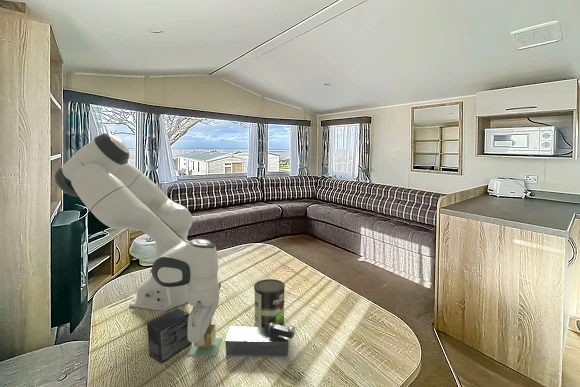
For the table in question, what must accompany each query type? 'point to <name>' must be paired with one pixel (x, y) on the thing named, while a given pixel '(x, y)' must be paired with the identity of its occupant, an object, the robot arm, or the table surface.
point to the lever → (281, 330)
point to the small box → (168, 335)
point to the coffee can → (269, 302)
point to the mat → (205, 349)
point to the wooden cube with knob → (208, 337)
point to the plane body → (255, 343)
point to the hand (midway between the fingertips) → (204, 337)
